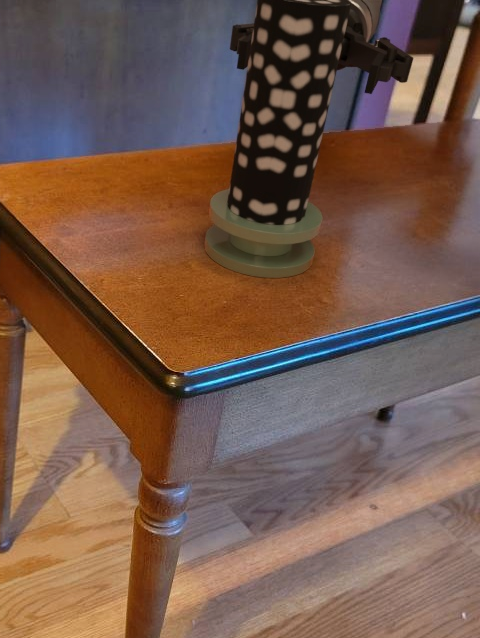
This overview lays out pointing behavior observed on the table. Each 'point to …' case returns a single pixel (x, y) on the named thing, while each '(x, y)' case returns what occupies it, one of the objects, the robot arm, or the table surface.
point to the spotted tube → (285, 107)
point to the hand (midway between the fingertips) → (305, 67)
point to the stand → (260, 242)
